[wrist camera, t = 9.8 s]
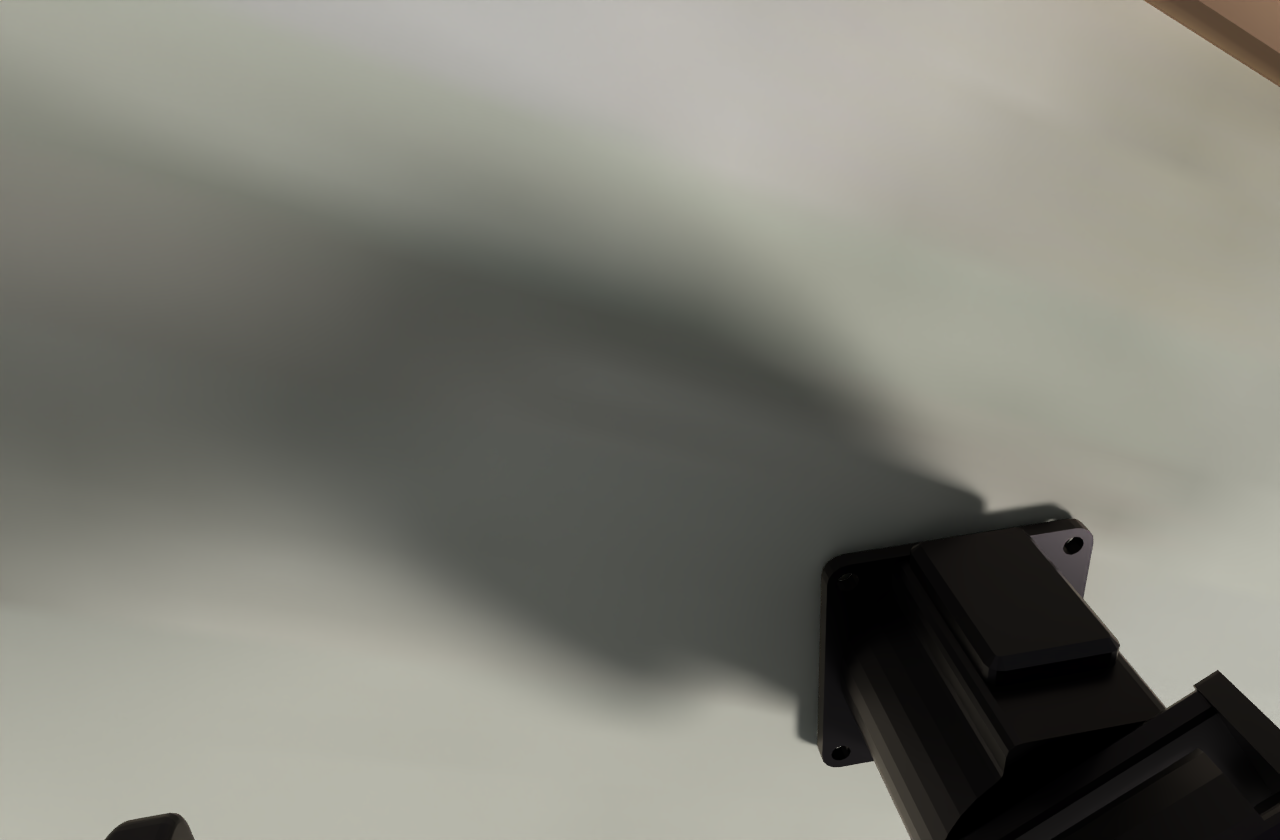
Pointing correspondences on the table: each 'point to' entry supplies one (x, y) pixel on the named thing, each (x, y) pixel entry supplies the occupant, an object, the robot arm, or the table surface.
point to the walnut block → (1234, 29)
